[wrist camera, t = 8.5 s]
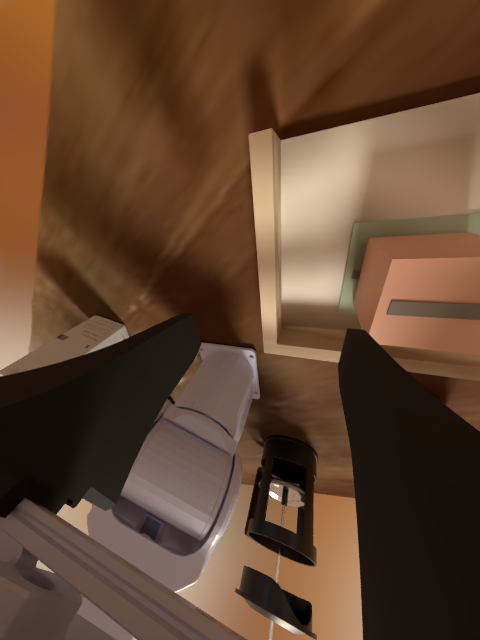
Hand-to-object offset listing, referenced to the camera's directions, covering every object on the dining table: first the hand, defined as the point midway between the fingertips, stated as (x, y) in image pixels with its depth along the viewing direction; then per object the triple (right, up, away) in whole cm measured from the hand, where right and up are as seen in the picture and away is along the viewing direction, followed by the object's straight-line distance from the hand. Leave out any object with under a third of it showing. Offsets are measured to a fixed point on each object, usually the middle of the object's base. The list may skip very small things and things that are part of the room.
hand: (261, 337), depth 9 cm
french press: (+8, -23, +25) cm, 35 cm away
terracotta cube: (+10, +4, +4) cm, 12 cm away
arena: (+9, +6, +5) cm, 12 cm away
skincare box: (-22, -1, +22) cm, 31 cm away
